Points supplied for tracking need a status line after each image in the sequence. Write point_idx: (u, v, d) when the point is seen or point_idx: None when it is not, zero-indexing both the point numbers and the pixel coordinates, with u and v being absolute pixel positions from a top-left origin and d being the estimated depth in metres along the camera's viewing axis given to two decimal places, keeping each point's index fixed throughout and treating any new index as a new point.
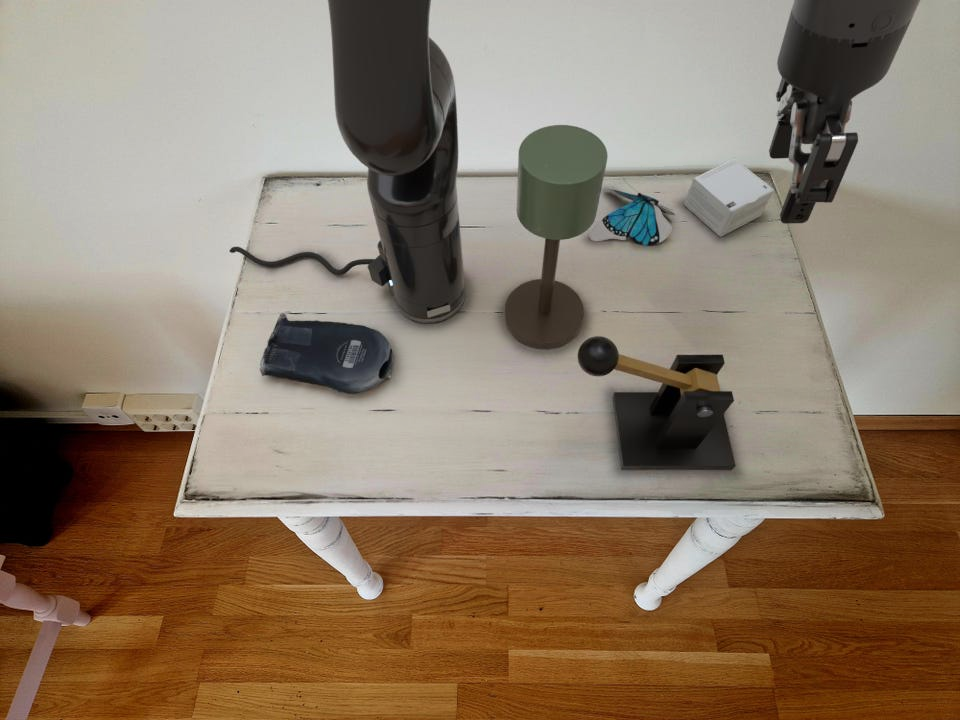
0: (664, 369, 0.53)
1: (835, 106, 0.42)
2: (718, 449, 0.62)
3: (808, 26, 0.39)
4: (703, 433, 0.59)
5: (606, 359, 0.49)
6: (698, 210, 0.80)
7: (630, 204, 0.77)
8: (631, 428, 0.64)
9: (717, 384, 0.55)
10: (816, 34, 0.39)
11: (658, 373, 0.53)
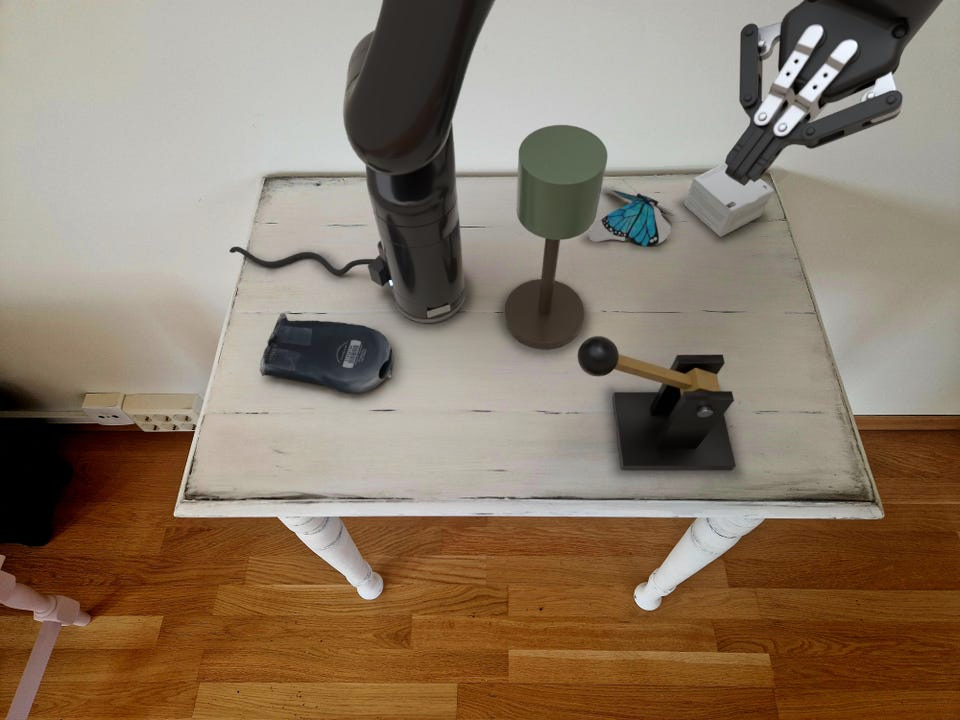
0: (664, 369, 0.53)
1: (903, 47, 0.38)
2: (718, 449, 0.62)
3: None
4: (703, 433, 0.59)
5: (606, 359, 0.49)
6: (698, 210, 0.80)
7: (629, 205, 0.77)
8: (631, 428, 0.64)
9: (717, 384, 0.55)
10: None
11: (658, 373, 0.53)
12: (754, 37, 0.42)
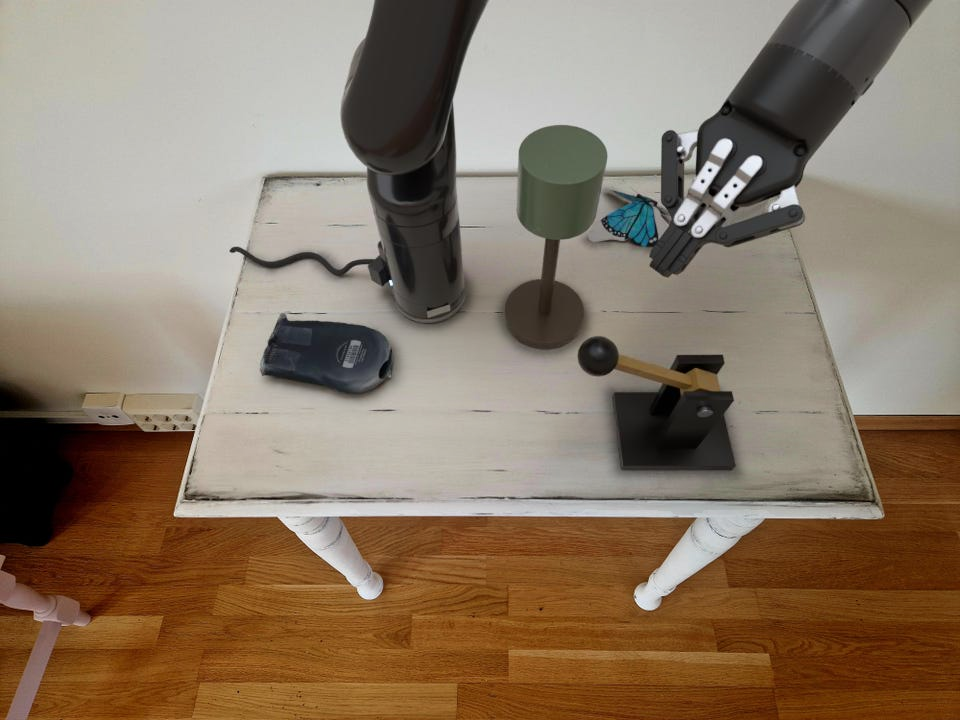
0: (664, 369, 0.53)
1: (805, 162, 0.41)
2: (718, 449, 0.62)
3: (837, 67, 0.37)
4: (703, 433, 0.59)
5: (606, 359, 0.49)
6: None
7: (629, 205, 0.77)
8: (631, 428, 0.64)
9: (717, 384, 0.55)
10: (842, 77, 0.37)
11: (658, 373, 0.53)
12: (673, 143, 0.45)
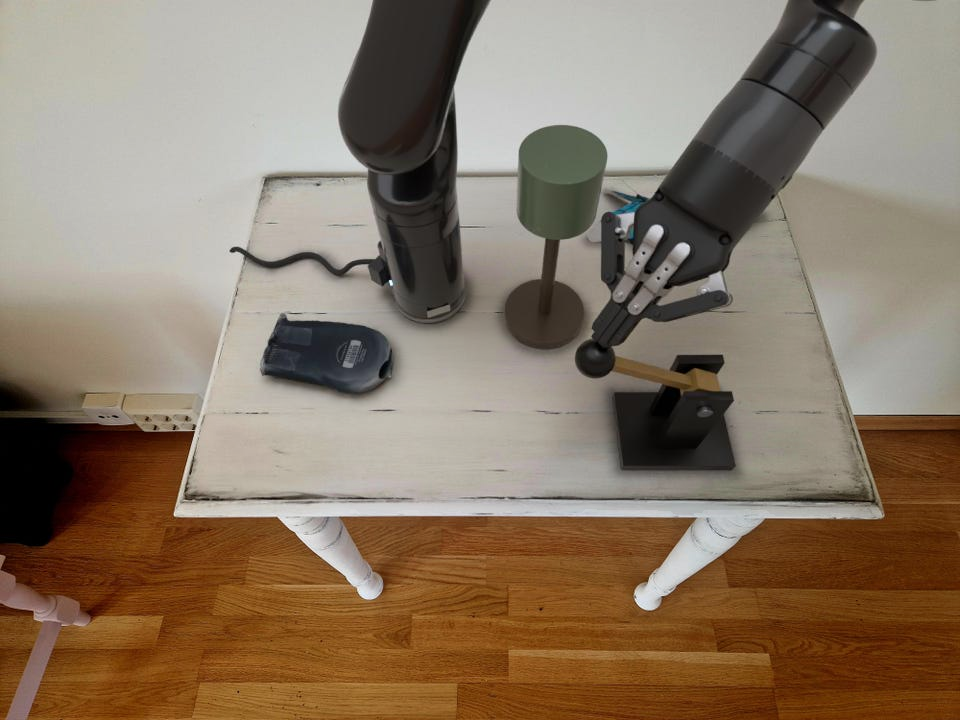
0: (663, 370, 0.53)
1: (731, 249, 0.43)
2: (718, 449, 0.62)
3: (753, 168, 0.40)
4: (703, 433, 0.59)
5: (602, 361, 0.49)
6: None
7: (629, 205, 0.77)
8: (631, 428, 0.64)
9: (717, 384, 0.55)
10: (759, 178, 0.40)
11: (656, 374, 0.53)
12: (612, 224, 0.47)
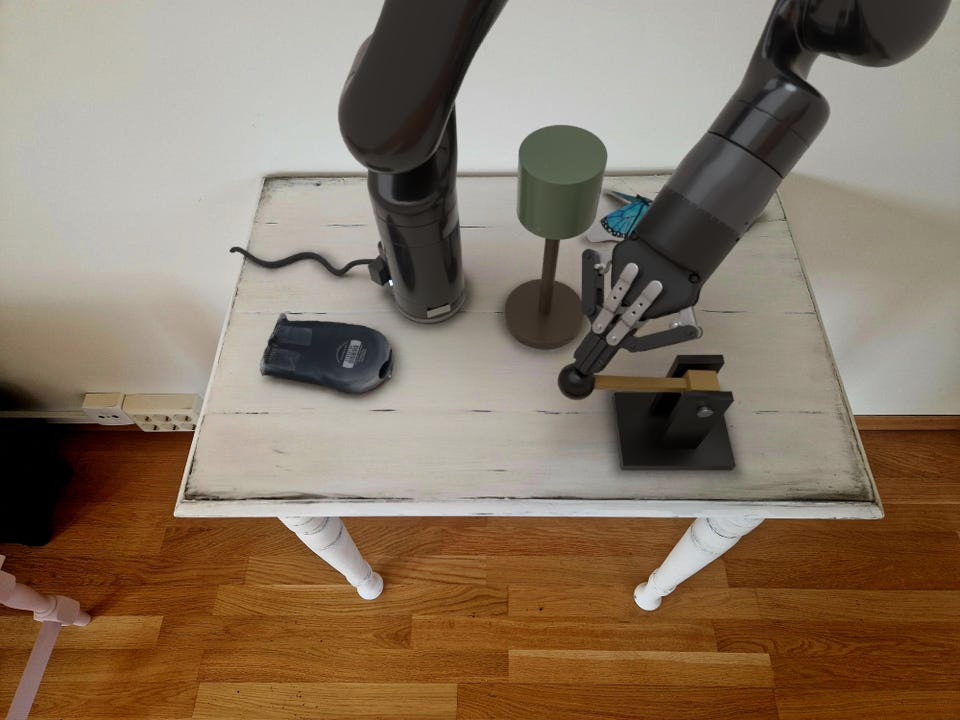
0: (652, 378, 0.55)
1: (700, 287, 0.47)
2: (718, 449, 0.62)
3: (718, 215, 0.43)
4: (703, 433, 0.59)
5: (577, 384, 0.53)
6: None
7: (628, 205, 0.77)
8: (631, 428, 0.64)
9: (715, 381, 0.54)
10: (723, 224, 0.43)
11: (644, 384, 0.54)
12: (591, 260, 0.51)
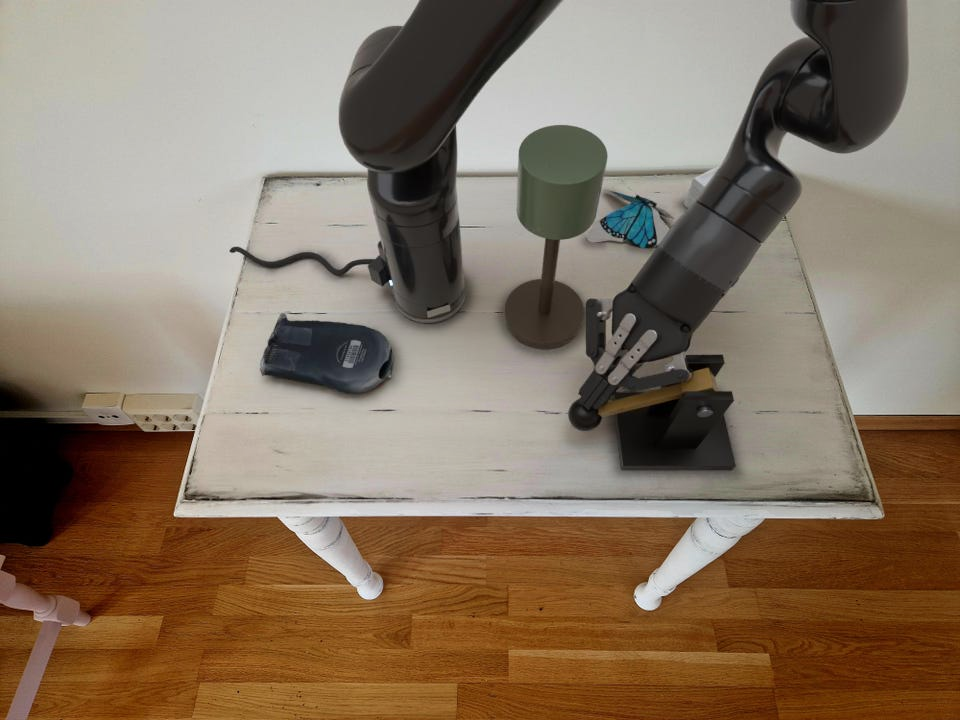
0: (649, 393, 0.57)
1: (691, 335, 0.53)
2: (718, 449, 0.62)
3: (705, 276, 0.49)
4: (703, 433, 0.59)
5: (578, 420, 0.60)
6: None
7: (628, 206, 0.77)
8: (631, 428, 0.64)
9: (707, 379, 0.54)
10: (710, 283, 0.49)
11: (641, 401, 0.57)
12: (594, 309, 0.57)
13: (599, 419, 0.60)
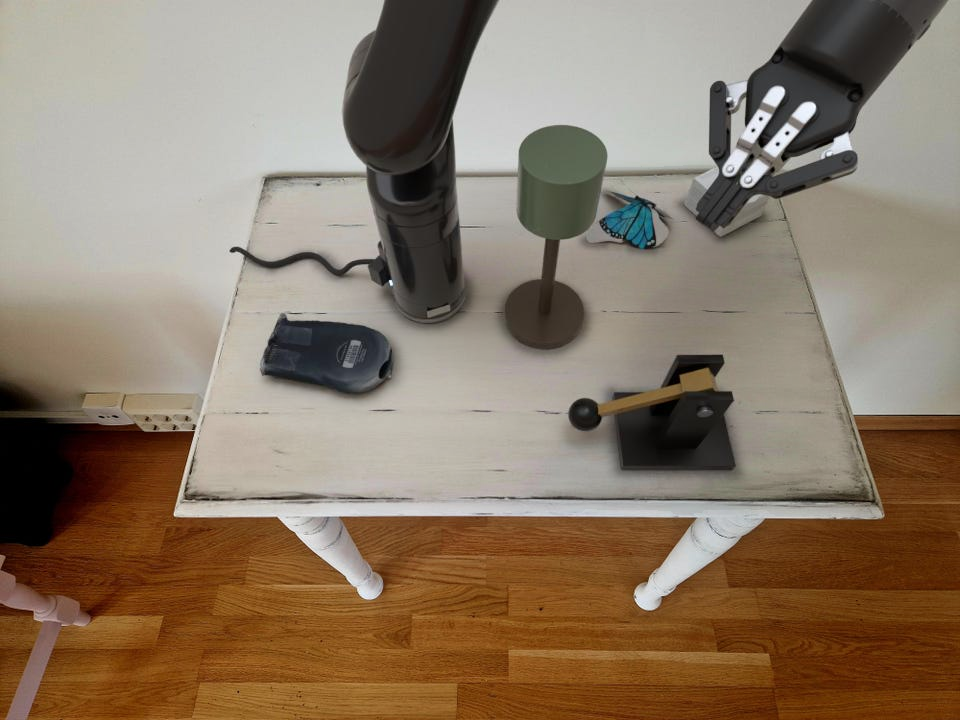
0: (649, 393, 0.57)
1: (859, 109, 0.41)
2: (718, 449, 0.62)
3: (897, 7, 0.37)
4: (703, 433, 0.59)
5: (578, 420, 0.60)
6: None
7: (627, 207, 0.77)
8: (631, 428, 0.64)
9: (707, 379, 0.54)
10: (902, 18, 0.37)
11: (641, 401, 0.57)
12: (722, 93, 0.45)
13: (599, 419, 0.60)
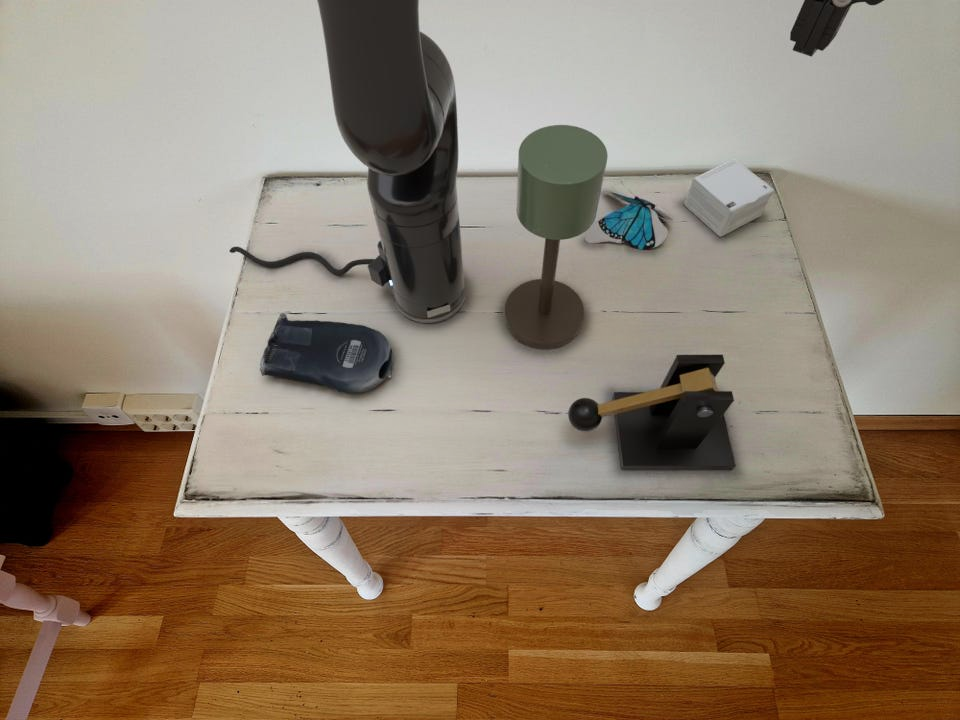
0: (649, 393, 0.57)
1: None
2: (718, 449, 0.62)
3: None
4: (703, 433, 0.59)
5: (578, 420, 0.60)
6: (698, 210, 0.80)
7: (627, 207, 0.77)
8: (631, 428, 0.64)
9: (707, 379, 0.54)
10: None
11: (641, 401, 0.57)
12: None
13: (599, 419, 0.60)
